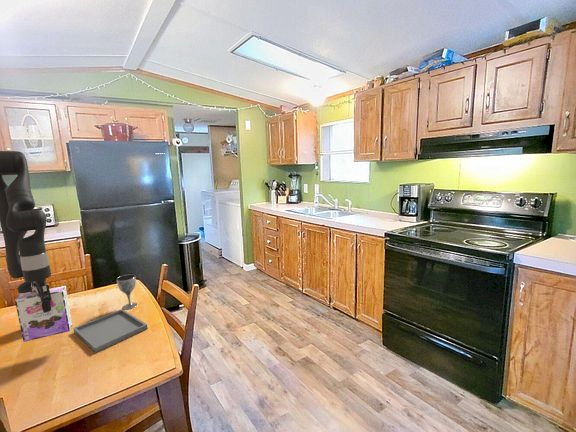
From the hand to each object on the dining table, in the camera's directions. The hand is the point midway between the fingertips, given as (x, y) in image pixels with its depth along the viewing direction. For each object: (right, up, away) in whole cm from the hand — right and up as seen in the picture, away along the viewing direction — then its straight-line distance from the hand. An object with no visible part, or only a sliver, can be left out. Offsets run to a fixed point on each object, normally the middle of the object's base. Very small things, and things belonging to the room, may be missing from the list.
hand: (44, 308), depth 108 cm
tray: (+15, -14, +16) cm, 26 cm away
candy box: (0, -10, +2) cm, 10 cm away
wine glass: (+12, -11, +37) cm, 41 cm away
